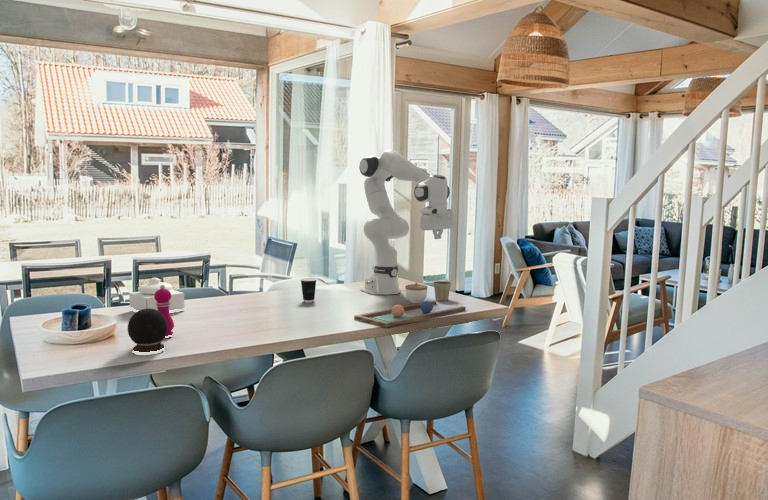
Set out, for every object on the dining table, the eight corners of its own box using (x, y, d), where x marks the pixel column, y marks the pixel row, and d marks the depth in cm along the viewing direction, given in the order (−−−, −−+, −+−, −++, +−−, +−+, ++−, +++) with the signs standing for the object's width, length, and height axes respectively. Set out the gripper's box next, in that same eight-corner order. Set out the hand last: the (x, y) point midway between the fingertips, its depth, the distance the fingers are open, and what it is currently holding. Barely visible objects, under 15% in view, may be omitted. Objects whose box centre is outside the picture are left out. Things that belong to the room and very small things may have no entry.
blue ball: (427, 297, 285) (423, 307, 287) (419, 300, 280) (416, 310, 283) (436, 303, 282) (433, 313, 284) (429, 306, 278) (426, 316, 280)
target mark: (372, 317, 273) (372, 317, 273) (395, 313, 282) (395, 312, 282) (394, 323, 262) (394, 322, 262) (418, 318, 272) (418, 317, 272)
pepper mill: (157, 335, 243) (155, 283, 241) (176, 334, 244) (174, 283, 242) (152, 339, 236) (149, 286, 234) (171, 339, 237) (169, 286, 234)
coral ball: (396, 301, 276) (400, 311, 278) (387, 308, 273) (391, 318, 275) (404, 303, 272) (408, 313, 274) (395, 310, 269) (399, 320, 271)
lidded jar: (431, 301, 308) (432, 282, 307) (417, 305, 300) (417, 285, 299) (415, 298, 315) (415, 280, 314) (400, 302, 307) (400, 282, 306)
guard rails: (354, 319, 270) (354, 315, 270) (433, 303, 303) (433, 300, 303) (385, 327, 255) (385, 323, 255) (465, 310, 288) (465, 306, 288)
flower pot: (451, 298, 317) (451, 281, 316) (451, 301, 308) (451, 284, 307) (432, 297, 318) (432, 280, 317) (432, 301, 308) (432, 284, 307)
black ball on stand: (140, 358, 212) (138, 314, 210) (121, 351, 220) (119, 309, 219) (176, 350, 221) (174, 308, 220) (157, 344, 230) (155, 303, 228)
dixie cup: (306, 299, 314) (306, 277, 313) (320, 300, 311) (319, 278, 309) (297, 302, 307) (297, 279, 306) (311, 303, 303) (310, 280, 302)
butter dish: (167, 306, 298) (165, 272, 296) (185, 312, 285) (183, 277, 283) (129, 311, 286) (128, 277, 284) (147, 318, 273) (145, 281, 271)
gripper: (447, 208, 307) (447, 237, 309) (418, 210, 293) (417, 239, 295) (457, 209, 302) (457, 238, 304) (428, 210, 289) (427, 240, 290)
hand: (437, 239), depth 299 cm, fingers closed
